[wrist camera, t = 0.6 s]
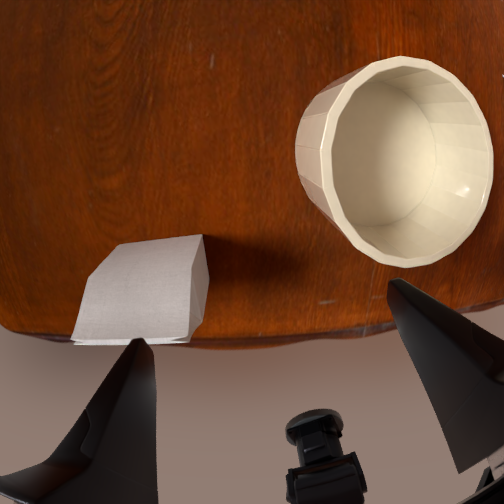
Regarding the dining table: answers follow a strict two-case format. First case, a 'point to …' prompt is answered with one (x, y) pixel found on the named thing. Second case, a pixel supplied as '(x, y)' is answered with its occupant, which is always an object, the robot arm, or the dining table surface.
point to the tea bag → (145, 294)
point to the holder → (397, 160)
